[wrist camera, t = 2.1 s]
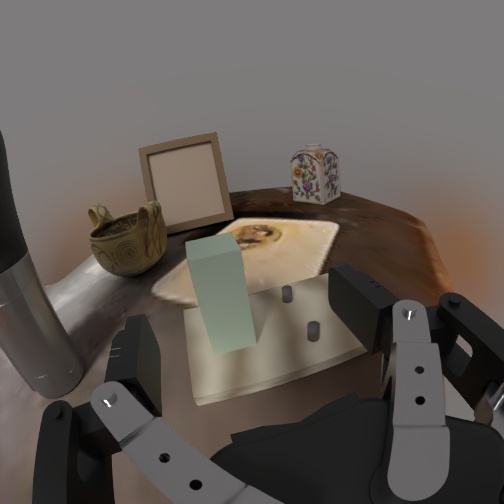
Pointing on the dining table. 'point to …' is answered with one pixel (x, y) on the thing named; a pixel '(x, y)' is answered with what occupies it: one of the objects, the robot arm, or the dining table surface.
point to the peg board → (271, 343)
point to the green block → (221, 291)
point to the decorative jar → (315, 175)
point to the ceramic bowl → (128, 239)
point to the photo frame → (187, 181)
